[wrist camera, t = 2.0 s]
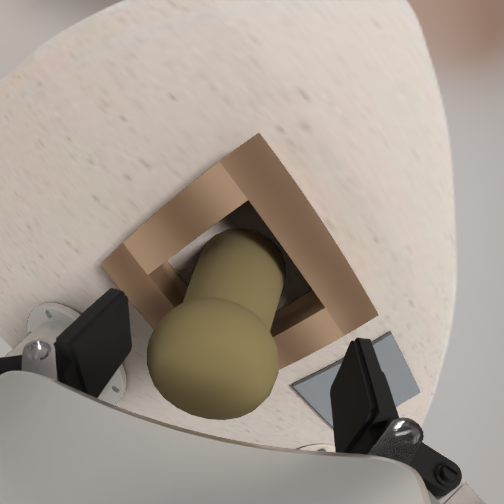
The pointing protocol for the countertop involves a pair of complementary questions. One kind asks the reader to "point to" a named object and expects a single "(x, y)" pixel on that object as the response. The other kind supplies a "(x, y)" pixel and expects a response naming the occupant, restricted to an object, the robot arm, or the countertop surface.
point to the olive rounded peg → (222, 330)
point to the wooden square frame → (281, 225)
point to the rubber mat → (390, 363)
